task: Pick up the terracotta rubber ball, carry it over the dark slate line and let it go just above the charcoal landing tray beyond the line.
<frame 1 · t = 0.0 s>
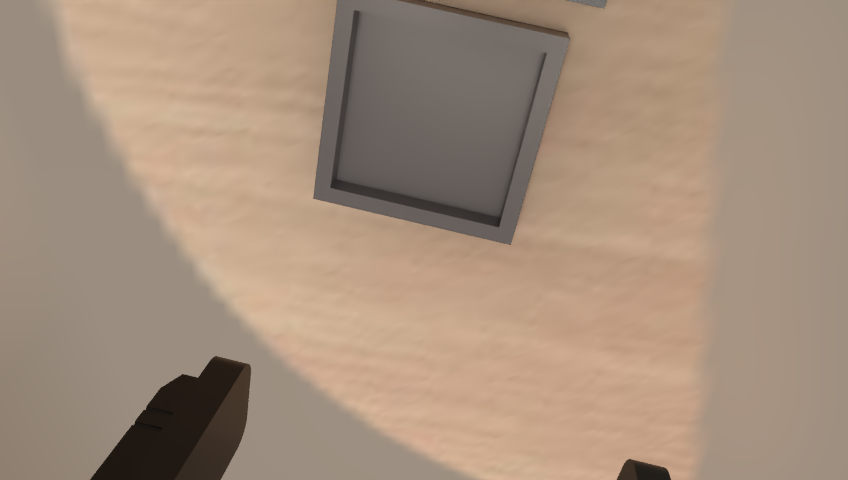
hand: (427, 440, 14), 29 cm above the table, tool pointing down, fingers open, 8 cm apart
landing tray: (435, 116, 41), on the table
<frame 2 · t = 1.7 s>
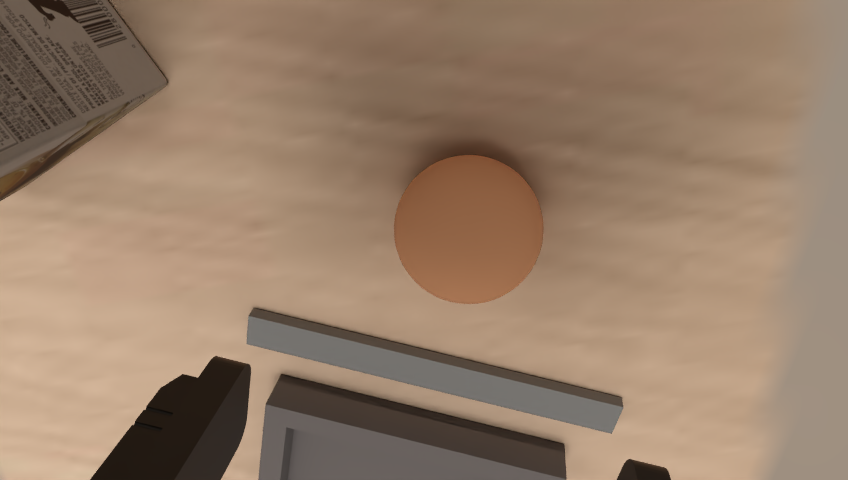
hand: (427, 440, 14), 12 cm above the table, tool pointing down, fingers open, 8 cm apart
ball: (468, 229, 22), point 2 cm above the table
coffee box: (39, 70, 25), on the table
distance line: (432, 366, 28), on the table
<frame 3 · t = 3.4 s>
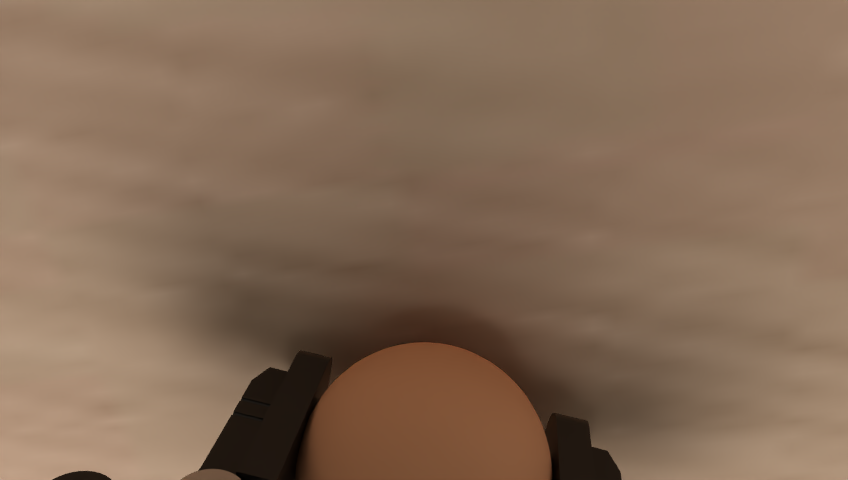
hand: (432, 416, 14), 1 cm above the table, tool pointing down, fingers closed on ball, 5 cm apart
ball: (423, 469, 13), point 2 cm above the table, touching gripper
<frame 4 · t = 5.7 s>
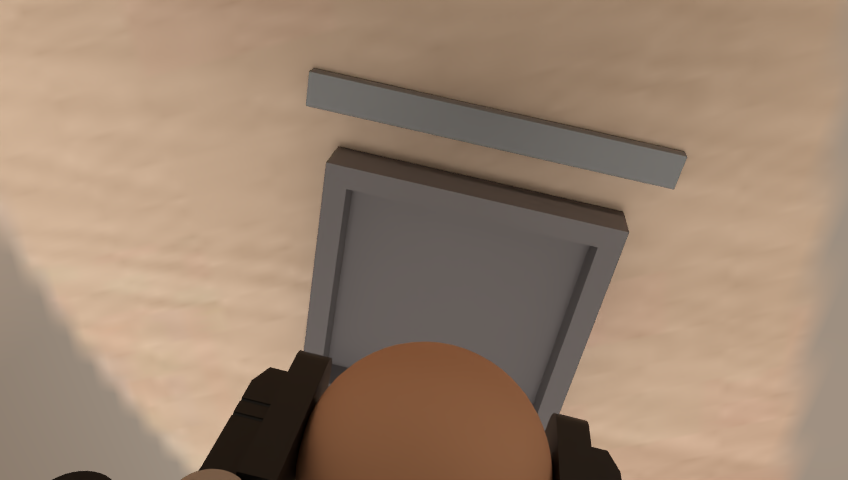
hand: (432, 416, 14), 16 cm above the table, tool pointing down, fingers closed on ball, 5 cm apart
ball: (424, 469, 13), point 18 cm above the table, touching gripper
landing tray: (450, 297, 32), on the table
distance line: (492, 126, 28), on the table
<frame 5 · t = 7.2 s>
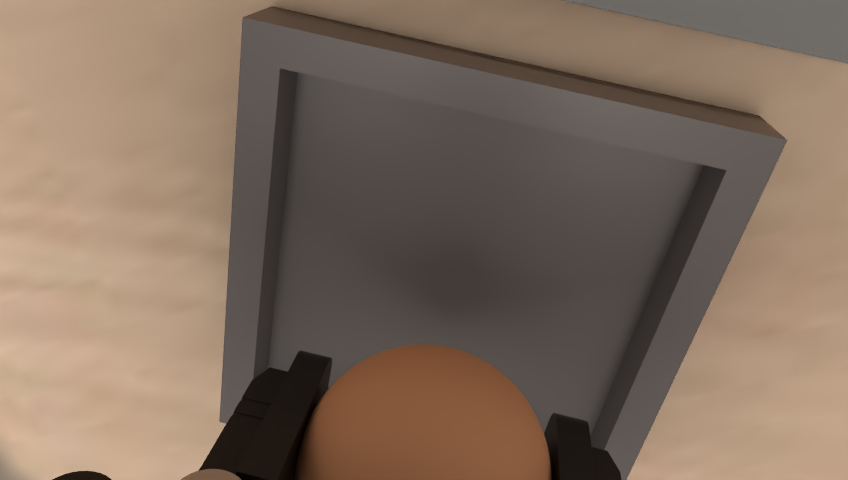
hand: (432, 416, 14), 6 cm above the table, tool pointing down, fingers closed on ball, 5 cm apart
ball: (423, 471, 13), point 8 cm above the table, touching gripper
landing tray: (459, 271, 20), on the table
when the fingers open (3 cm above the table, at t = 8.4 s): ball drops 1 cm, resting on landing tray.
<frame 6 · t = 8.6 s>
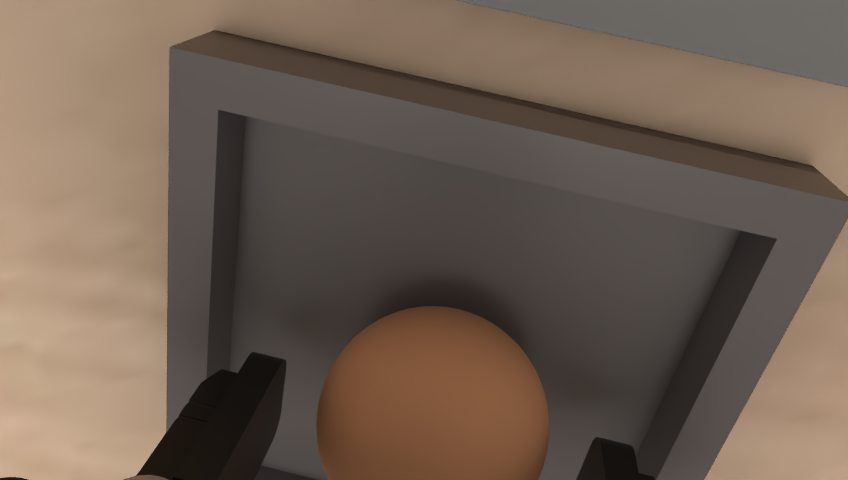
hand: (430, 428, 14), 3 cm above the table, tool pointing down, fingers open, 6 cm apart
ball: (432, 421, 14), point 3 cm above the table, touching landing tray
landing tray: (446, 340, 17), on the table
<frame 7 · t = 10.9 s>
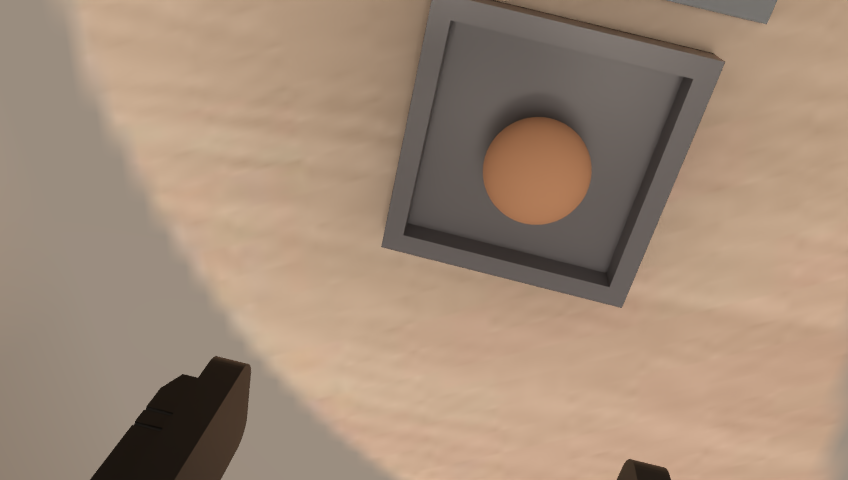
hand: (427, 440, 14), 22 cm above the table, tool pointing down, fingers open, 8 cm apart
ball: (536, 171, 31), point 3 cm above the table, touching landing tray
landing tray: (535, 150, 33), on the table
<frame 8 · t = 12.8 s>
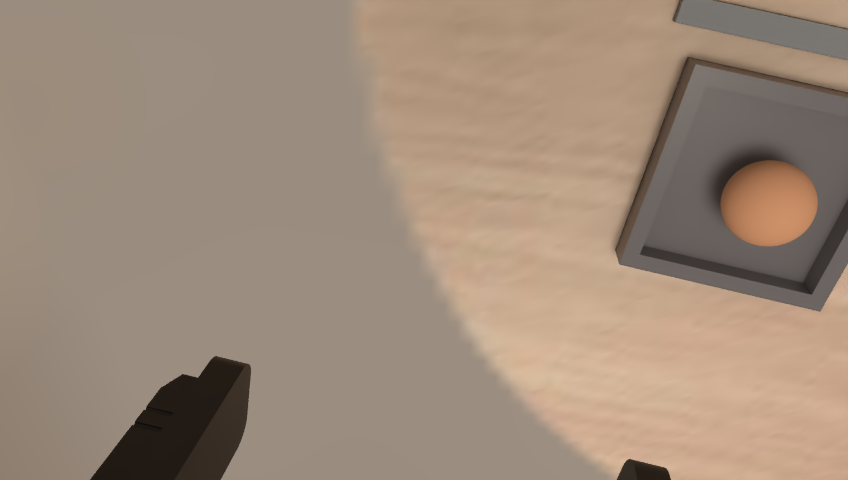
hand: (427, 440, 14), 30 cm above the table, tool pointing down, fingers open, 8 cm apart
ball: (767, 203, 38), point 3 cm above the table, touching landing tray
landing tray: (752, 184, 41), on the table
distance line: (819, 38, 37), on the table
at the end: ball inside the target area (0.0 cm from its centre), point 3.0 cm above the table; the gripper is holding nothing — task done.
